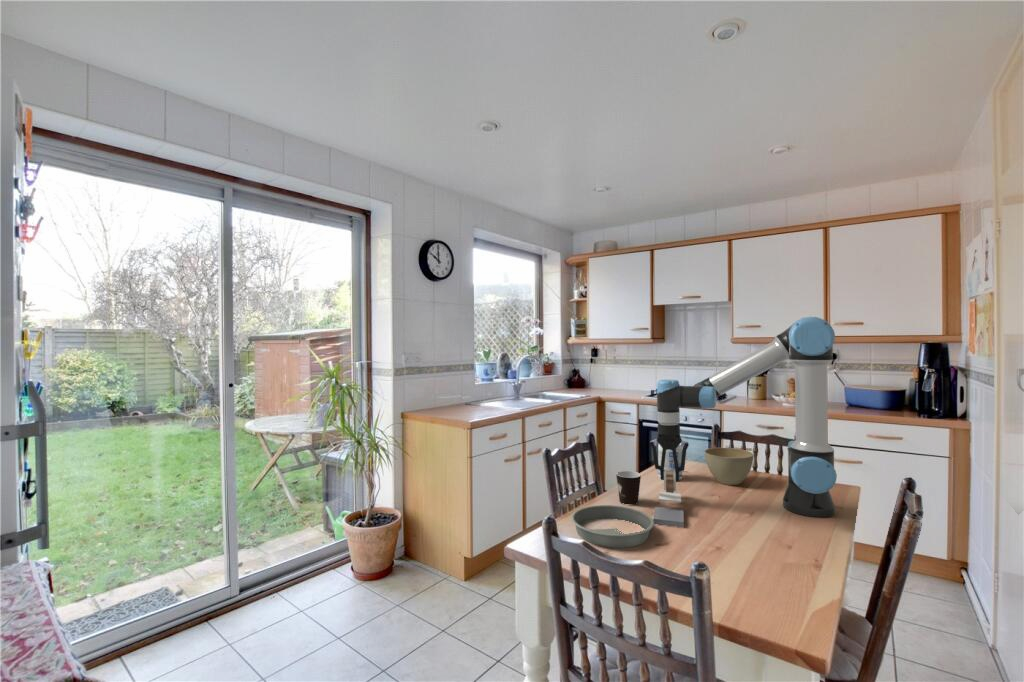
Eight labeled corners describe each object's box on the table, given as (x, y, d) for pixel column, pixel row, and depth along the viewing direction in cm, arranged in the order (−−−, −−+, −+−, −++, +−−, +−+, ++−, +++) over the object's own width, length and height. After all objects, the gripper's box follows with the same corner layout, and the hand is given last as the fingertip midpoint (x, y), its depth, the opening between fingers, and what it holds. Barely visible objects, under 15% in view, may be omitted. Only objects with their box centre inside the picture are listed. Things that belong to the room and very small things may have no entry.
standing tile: (655, 506, 161) (653, 518, 151) (683, 509, 158) (683, 522, 148) (655, 513, 161) (653, 525, 151) (683, 516, 158) (683, 529, 148)
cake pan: (669, 532, 145) (669, 517, 145) (624, 559, 128) (624, 542, 128) (602, 512, 163) (602, 498, 163) (554, 533, 146) (554, 518, 146)
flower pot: (738, 475, 203) (738, 446, 203) (763, 488, 185) (762, 457, 185) (697, 476, 202) (696, 447, 202) (717, 489, 184) (717, 458, 184)
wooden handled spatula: (660, 483, 179) (660, 470, 179) (680, 484, 177) (679, 471, 177) (658, 500, 160) (658, 485, 160) (681, 502, 158) (680, 487, 158)
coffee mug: (641, 506, 167) (641, 478, 167) (616, 505, 168) (616, 477, 168) (639, 496, 178) (639, 469, 178) (616, 494, 180) (615, 468, 180)
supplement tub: (672, 483, 193) (672, 446, 193) (653, 477, 201) (653, 442, 201) (687, 478, 199) (686, 443, 199) (667, 473, 207) (667, 439, 207)
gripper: (691, 422, 171) (692, 487, 171) (646, 420, 176) (647, 484, 176) (692, 425, 164) (693, 494, 164) (645, 424, 169) (646, 490, 169)
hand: (670, 489), depth 170 cm, fingers closed on wooden handled spatula, 2 cm apart
